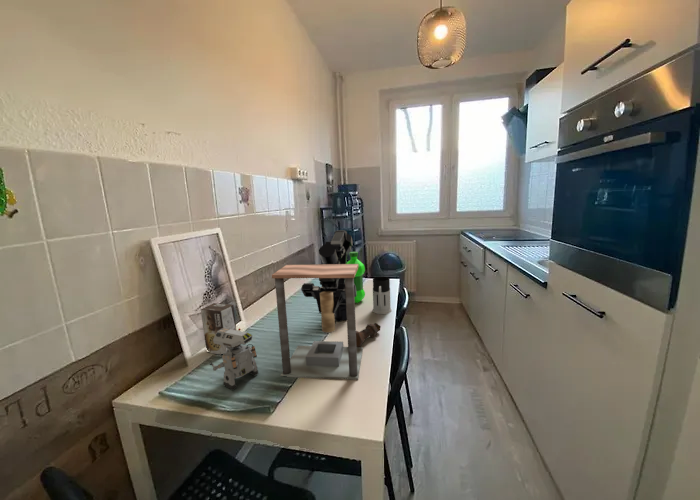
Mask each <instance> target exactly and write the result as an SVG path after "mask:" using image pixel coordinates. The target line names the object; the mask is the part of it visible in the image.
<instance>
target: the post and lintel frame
mask: <svg viewBox="0 0 700 500" xmlns="http://www.w3.org/2000/svg"><path fill="white" fill-rule="evenodd" d="M358 267H359V265H358V264H323V263H322V264H318V263H316V264H315V263H314V264H286V265H284V266H283V267H281V268H279V269H278V270H276V272H274V273H273V274H271V279H274V283H275V284H274V287H275V297H276V308H277V318H278V330H279V331H278V332H279V341H280V343H279V344H280V354H281V366H282V372H281V373H280V377H281V376H287V377H286V378H304V379H305V378H306V379H329V380H331V379H332V380H359V377H360V370H361V366H362V358H363V350H364V347H363V346H361V347H356V331H357V330H356V328H357V324H356V303H355V296H354V277H355V275H356V272H357V270H358ZM319 278H345V288H346V311H347V320H346V328H347V330H346V331H347V346H344V350H343V354H342V357H341V361H340V364H339V366H310V365H306V356H307V354H308V352H309V350H310V348H311V346H312V345H297V346H296V348H295V350H294V351H293V353H292V355H291V354H290V353H291V352H290V342H289V341H290V340H289V330H288V329H289V327H288V316H287V305H286V302H287V301H286V292H285V282H284V281H285V279H319ZM333 353H334V352H319V353H318V354H333Z"/></svg>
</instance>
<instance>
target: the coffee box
mask: <svg viewBox="0 0 700 500" xmlns="http://www.w3.org/2000/svg"><path fill="white" fill-rule="evenodd" d="M200 317H201V322H202V329H203V336H204V343H205V348H207V350H208V351H210V352H211V353H210V354H216V355H221V354H223V353H224V352H226V351H227V350H228V348H227V347H228V346H223V345H219V344H214V342H213V339H214V337H215V335H216V333H217V331H218V330H220V329H222V328H227V329H232V330H237V322H236V315H235V308H234V304H231V303H228V304H227V303H216V302H215V303H214V302H213V303H211V304H208V305H206V306H205V307H203V308H201V309H200Z"/></svg>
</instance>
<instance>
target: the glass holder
mask: <svg viewBox="0 0 700 500" xmlns="http://www.w3.org/2000/svg"><path fill="white" fill-rule="evenodd" d="M390 281H391V280H390V278H389V277H388V276H377V277H376V276H375V277H373V278H372V305H373V307H372V312H373V313H374V314H377V315H386V314H387V315H388V314H390V313H391V312H392V311H393V310H392V309H391V308H392V307H391V287H390V285H391V282H390Z"/></svg>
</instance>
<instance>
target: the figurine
mask: <svg viewBox="0 0 700 500" xmlns="http://www.w3.org/2000/svg"><path fill="white" fill-rule="evenodd" d="M252 340H253V335H252V334H251V333H249V332H246V331H241V328H238V330H237V329H236V330H232V329H227V328H222V329H220V330H218V331H217V333H216V335H215V337H214V339H213V342H214V344H219V345H223V346H228V347H227V348H228V350H227V351H226V352H224V353H223V355H221V358H222V362H220V363H219V364H217V365H215V364H214V363H213V362H212V361H211V360H210V361H209V366H211V367H212V370H213V372H215V371H217V370H219V369H222V368H224V372H223V386H224V387H225V386H226V389H229V390H231V389H232V390H231V391H233V390H235V389H236V388H238V387H237V384H236V382H235V381H236V380H235V379H237V378H241V377H244V376H245V375H247V374H249V373H250V374H251V375H252V374H253V375H252V376H254V375H255V376H257V375H259V370H258V365H257V362H256V358H257V357H258V355H257V352H256V347H255V345H253V344H250V342H251V341H252ZM246 344H247V345H246Z"/></svg>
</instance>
